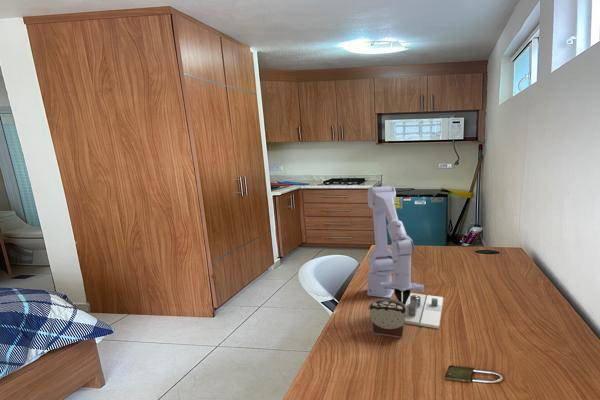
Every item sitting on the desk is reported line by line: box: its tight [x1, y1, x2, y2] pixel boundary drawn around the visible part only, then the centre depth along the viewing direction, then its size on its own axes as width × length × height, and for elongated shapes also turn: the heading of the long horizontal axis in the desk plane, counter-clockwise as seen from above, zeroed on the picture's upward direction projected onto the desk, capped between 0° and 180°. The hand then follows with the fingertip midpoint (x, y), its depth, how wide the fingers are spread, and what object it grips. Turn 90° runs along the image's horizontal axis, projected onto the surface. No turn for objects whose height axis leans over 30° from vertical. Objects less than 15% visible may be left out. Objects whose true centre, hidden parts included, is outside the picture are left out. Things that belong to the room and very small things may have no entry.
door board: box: [396, 291, 444, 330], centre depth 132 cm, size 16×24×3 cm, turn 156°
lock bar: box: [409, 295, 421, 315], centre depth 130 cm, size 11×4×3 cm, turn 156°
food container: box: [367, 298, 408, 339], centre depth 117 cm, size 12×6×10 cm, turn 71°
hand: (402, 309), depth 129 cm, fingers closed
